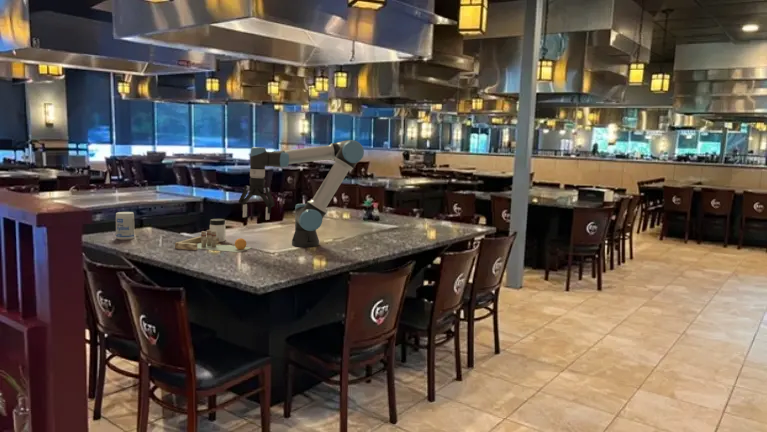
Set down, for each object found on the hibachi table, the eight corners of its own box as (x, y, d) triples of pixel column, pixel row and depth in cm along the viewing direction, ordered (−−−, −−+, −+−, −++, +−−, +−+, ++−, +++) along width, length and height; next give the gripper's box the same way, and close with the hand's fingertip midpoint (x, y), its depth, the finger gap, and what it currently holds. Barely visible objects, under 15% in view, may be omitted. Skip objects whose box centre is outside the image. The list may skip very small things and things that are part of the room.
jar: (212, 242, 319) (211, 221, 317) (207, 240, 325) (207, 219, 324) (227, 241, 323) (227, 220, 322) (223, 238, 330) (223, 218, 329)
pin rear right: (212, 245, 309) (212, 230, 308) (209, 246, 307) (209, 230, 306) (208, 245, 310) (208, 229, 309) (205, 246, 308) (205, 230, 306)
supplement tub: (115, 240, 316) (114, 214, 314) (116, 237, 325) (115, 211, 323) (134, 239, 320) (134, 213, 318) (134, 236, 329) (134, 211, 327)
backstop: (218, 243, 316) (218, 237, 316) (195, 250, 295) (195, 244, 295) (199, 241, 320) (199, 236, 319) (175, 248, 299) (175, 242, 298)
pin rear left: (207, 247, 304) (207, 231, 303) (204, 247, 302) (204, 232, 301) (203, 246, 305) (202, 231, 304) (200, 247, 303) (200, 231, 302)
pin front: (217, 247, 306) (217, 231, 304) (214, 247, 303) (214, 232, 302) (213, 246, 306) (212, 231, 305) (210, 247, 304) (210, 231, 303)
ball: (248, 249, 302) (248, 237, 302) (242, 251, 297) (242, 239, 296) (238, 248, 304) (238, 237, 303) (232, 250, 298) (232, 238, 298)
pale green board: (252, 247, 306) (252, 247, 306) (238, 252, 293) (238, 252, 293) (200, 243, 315) (200, 242, 315) (184, 247, 302) (184, 247, 302)
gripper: (232, 175, 295) (231, 216, 297) (274, 179, 286) (273, 221, 289) (240, 175, 302) (239, 215, 304) (282, 178, 294) (280, 219, 296)
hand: (256, 218), depth 297 cm, fingers open, 13 cm apart
